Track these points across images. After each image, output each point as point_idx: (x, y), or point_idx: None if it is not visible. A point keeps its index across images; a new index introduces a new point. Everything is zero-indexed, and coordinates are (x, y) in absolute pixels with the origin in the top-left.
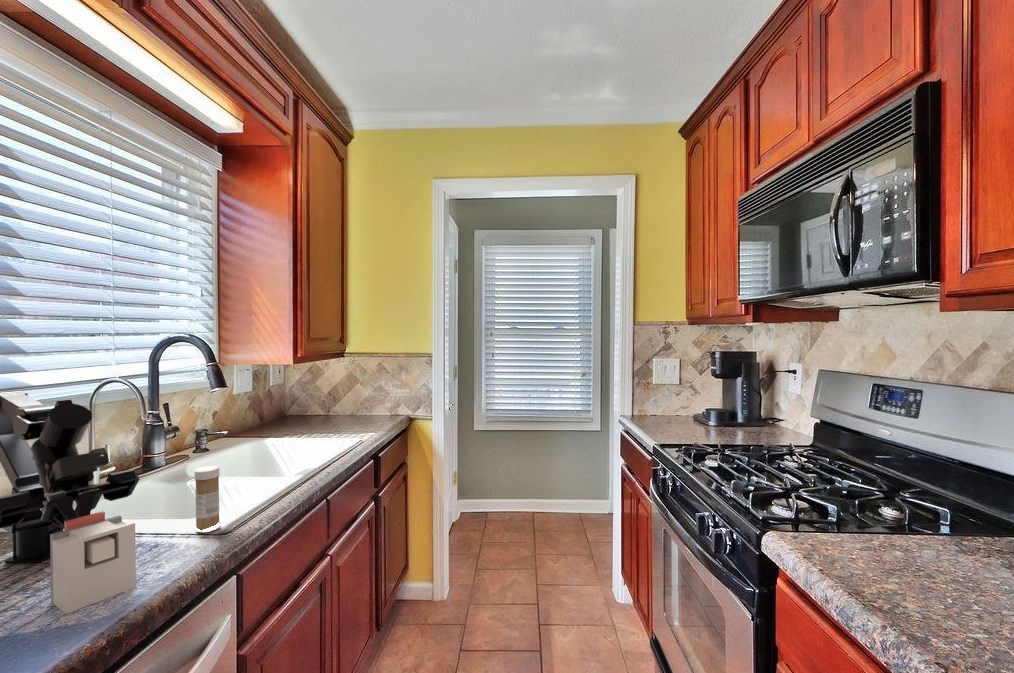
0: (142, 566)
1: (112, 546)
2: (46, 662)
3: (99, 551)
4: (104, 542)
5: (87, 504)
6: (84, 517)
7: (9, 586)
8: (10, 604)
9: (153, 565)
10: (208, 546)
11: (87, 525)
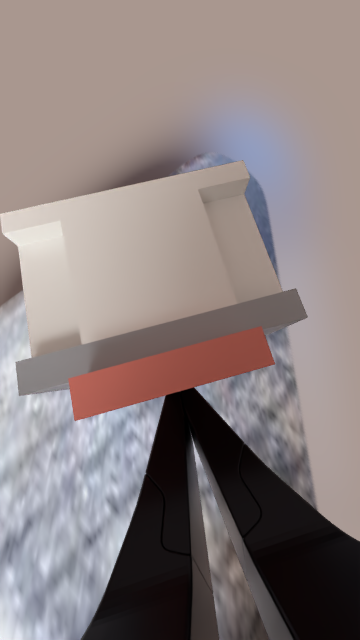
0: (70, 409)
1: None
2: (224, 156)
3: None
4: None
5: (143, 594)
6: (176, 359)
7: None
8: (296, 398)
9: (51, 395)
10: None
11: (165, 332)
